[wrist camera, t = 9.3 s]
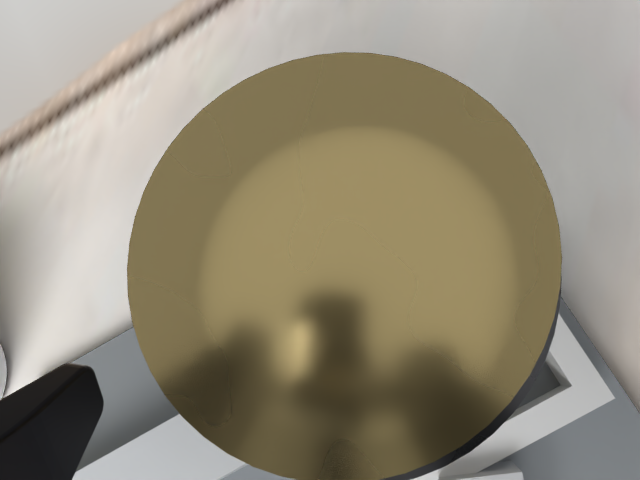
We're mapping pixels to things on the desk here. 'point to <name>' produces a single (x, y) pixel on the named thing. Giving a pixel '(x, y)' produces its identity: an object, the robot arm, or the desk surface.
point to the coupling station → (459, 476)
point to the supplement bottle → (2, 372)
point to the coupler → (346, 269)
